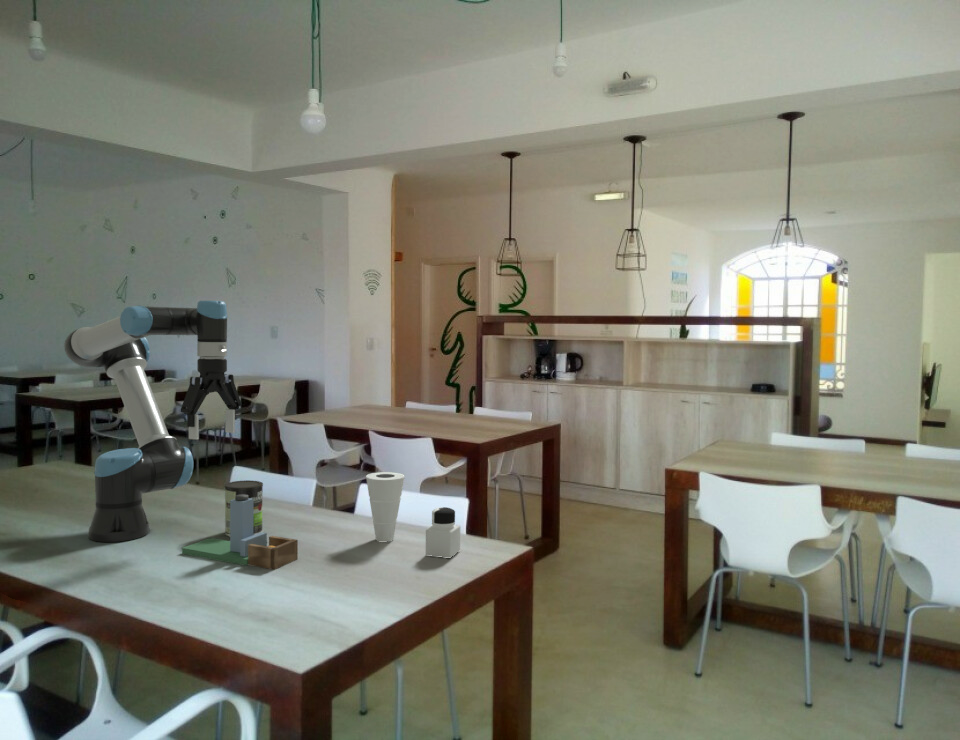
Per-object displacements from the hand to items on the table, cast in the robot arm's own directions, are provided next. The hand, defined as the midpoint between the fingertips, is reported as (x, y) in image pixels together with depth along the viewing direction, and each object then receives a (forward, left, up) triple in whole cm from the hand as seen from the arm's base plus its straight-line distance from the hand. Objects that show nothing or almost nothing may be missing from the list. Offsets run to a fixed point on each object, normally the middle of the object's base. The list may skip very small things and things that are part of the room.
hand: (212, 435), depth 200 cm
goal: (+27, -8, -29) cm, 40 cm away
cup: (+42, +21, -29) cm, 55 cm away
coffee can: (+3, +9, -29) cm, 30 cm away
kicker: (+18, -8, -27) cm, 34 cm away
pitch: (+13, -8, -29) cm, 32 cm away
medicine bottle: (+62, +17, -29) cm, 70 cm away
